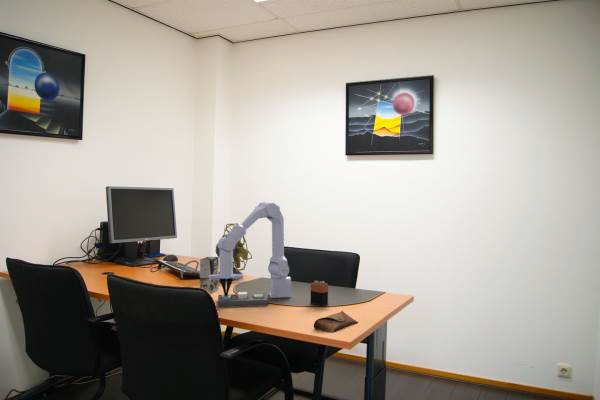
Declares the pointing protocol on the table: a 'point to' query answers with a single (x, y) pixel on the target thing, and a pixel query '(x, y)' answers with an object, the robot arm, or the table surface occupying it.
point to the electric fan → (237, 253)
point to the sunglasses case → (334, 322)
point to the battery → (319, 293)
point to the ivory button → (242, 295)
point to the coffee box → (209, 273)
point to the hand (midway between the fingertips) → (226, 296)
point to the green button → (258, 295)
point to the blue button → (226, 297)
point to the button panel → (242, 301)
